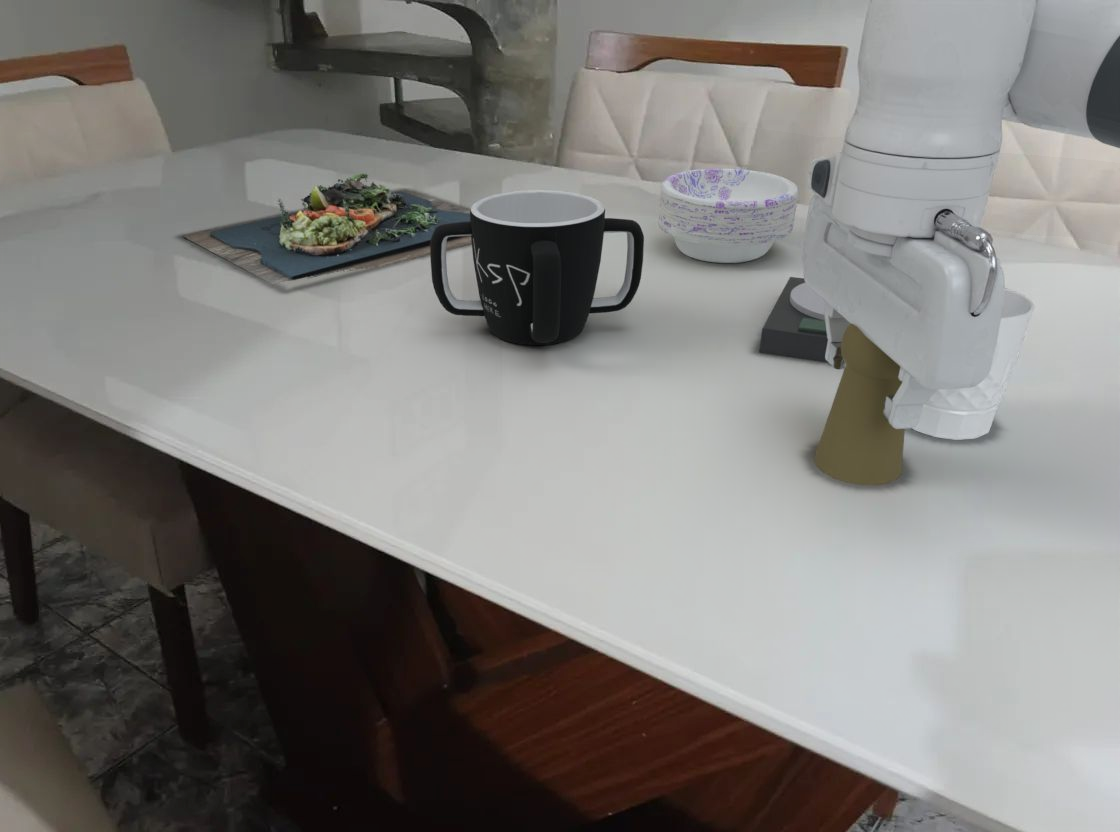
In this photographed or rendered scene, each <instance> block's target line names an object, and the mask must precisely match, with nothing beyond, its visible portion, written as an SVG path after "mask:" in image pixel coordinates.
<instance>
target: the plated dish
mask: <svg viewBox="0 0 1120 832" xmlns="http://www.w3.org/2000/svg"><path fill="white" fill-rule="evenodd" d="M362 179H363V180H365V182H368V179H369V174H367V173H358V174H354V175H352V176H350V177H348V178H346V180H343V179H340V178H339V179H338V180H337V182H336V183H334V184H333V185H332V186H328V187H326V186H323V185H322V184H321V185H317V186H316V185H315V186H314V187H313V188H312V191H311V192H310V193H309V195H307V196H305V197H304V198H300V200H301V203H302V206H303V208H302V210H297V211H293V212H289V211H287V210H285V205H284V203H283V200H281V198H278V199H277V202H278V203H277V204H278V205H279V208H280V209H279V211H280V212H281V213H280V214H279V215H274V216H273V215H272V216H268V217H264V218H259V219H254V220H250V221H245V222H241V223H234V224H231V225H226V226H221V227H215V228H211V229H206V230H201V231H197V232H193V233H192V232H191V233H187V234H183V235H181V237H183V238H185V239H187V240H189V241H191V242H192V243H194V244H196V245H198V246H200V247H201V248H203V249H205V250H207V251H210V252H211V253H213V254H215V255H216V256H218V257H220V258H222V259H224V260H225V261H228V262H230V263H232V264H233V265H236V266H238V267H239V268H242V269H243V270H245V271H246V272H249V273H250V274H252V275H254V276H256V277H258V278H259V279H261V280H263V281H265V282H267V283H268V284H270V285H276V284H279V283H285V282H291V281H296V280H300V279H304V278H306V279H308V280H309V279H312V278H317V277H322V276H325V275H330V274H334V273H339V272H340V273H342V272H343V273H345V271H346V272H349V271H359V270H363V269H365V270H368V269H373V268H374V269H375V268H379V267H384V268H385V267H386V266H391V265H394V264H399V263H401V262H407V261H410V260H415V259H419V258H424V257H427V256H430V241H431V237H432V235H433V232H434V230H435V229H436V228H437V227H438V226H440V225H443V224H449V223H457V222H469V221H470V210H471V209H467V208H465V207H462V206H458V205H454V204H451V203H449V202H445V201H442V200H439V199H436V198H432V197H429V196H426V195H423V194H420V193H418V192H417V193H416V192H414V191H411V190H408V189H400V190H395V191H391V189H390V188H386V185H385V184H380V183H379V184H378V185H377V183H375V182H374V181H372V182H371V184H370V185H367V184H364V182H362V181H361V180H362ZM340 182H341V183H340ZM468 245H472V241H471V236H452V237H448V238H447V244H446V251H451V250H453V249H458V248H461V247H462V248H463V247H466V246H468Z"/></svg>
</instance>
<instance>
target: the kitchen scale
mask: <svg viewBox="0 0 1120 832" xmlns="http://www.w3.org/2000/svg"><path fill="white" fill-rule="evenodd" d="M825 305H826V301H825V300H823V299H822V298H821V297H820V296H819V295H818V294H817V293H815V292H814V291H813V290H812V289H811V288H810V287H808V286H807V285H806V283H805V280H804V277H794V276H790V277H789V278H788V280H787V282H786V283H785V286H784V287H783V290H782V291H781V293H780V295H779V297H778V299H777V300H776V302H775V304H774V306H773V308H772V310H771V311H770V314H769V315H768V317H767V319H766V321H765V323H764V324H763V327H762V328H761V335H760V343H759V350H758V351H759V353H760V354H765V355H773V356H779V357H786V358H792V359H799V360H800V359H801V360H807V361H814V362H821V363H827V364H830V363H829V362H828V361H827V360H826V359H825V354H826V348H827V343H828V338H827V331H826V323H825V315H824V310H825Z"/></svg>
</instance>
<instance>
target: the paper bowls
mask: <svg viewBox="0 0 1120 832" xmlns="http://www.w3.org/2000/svg"><path fill="white" fill-rule="evenodd" d="M799 191H800V190H799V188H798V186H797V185H796V183H795V182H793V181H791V180H790V179H788V178H786V177H783V176H780V175H777V174H773V173H770V172H765V171H761V170H752V169H745V168H725V167H723V168H721V167H719V168H718V167H717V168H716V167H715V168H701V169H691V170H685V171H680V172H676V173H674V174H672V175H670V176H667V177H665V179H664V180H663V181H662V182H661V185H660V191H659V193H660V195H659V196H660V197H659V206H658V207H659V210H658V227H659V229H660V230H661V231H662V232H663V233H664V234H667V235H669V236H670V237H672V238H673V239H674V242H675V245H676V247H677V248H678V251H680V252H681V253H682V254H683V255H685V256H687V257H690V258H692V259H695V260H698V261H701V262H702V261H703V262H708V263H714V264H715V263H716V264H717V263H718V264H738V263H739V264H740V263H745V262H746V263H747V262H749V261H754V260H757V259H759V258H761V257H763V256H765V254H767V253H768V252H769V250H770V249H771V247H772V246H773V244H774V242H776V241H779V240H782V239H784V238H786V237H788V236H790V235H791V234H792V233H793V230H794V225H795V220H796V219H795V218H796V212H797V206H798V205H797V204H798V197H799V193H800V192H799Z"/></svg>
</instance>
